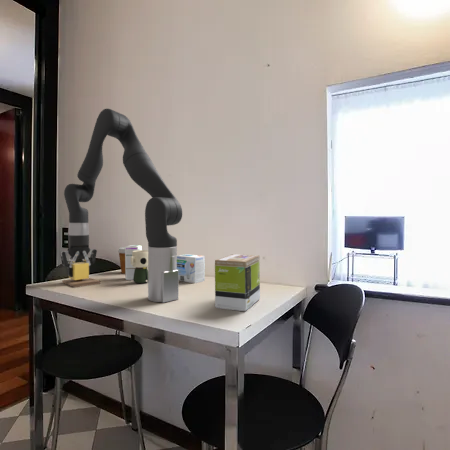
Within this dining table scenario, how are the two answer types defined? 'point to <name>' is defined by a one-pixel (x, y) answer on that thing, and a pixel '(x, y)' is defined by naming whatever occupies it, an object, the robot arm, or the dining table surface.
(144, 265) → the character mug
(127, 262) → the syrup box
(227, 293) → the tea box
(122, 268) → the disposable coffee cup
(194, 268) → the light bulb box
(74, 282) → the post block
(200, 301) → the dining table surface
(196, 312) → the dining table surface
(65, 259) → the robot arm
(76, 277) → the yellow cube
